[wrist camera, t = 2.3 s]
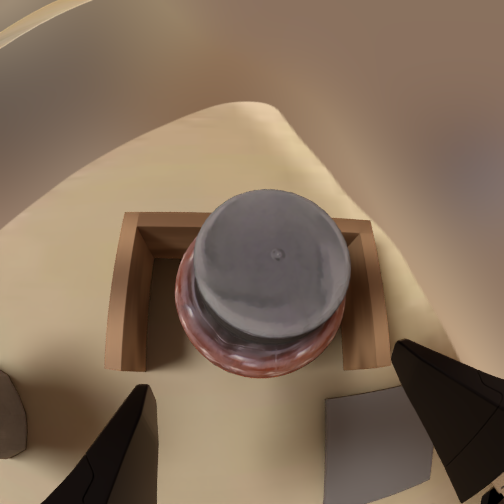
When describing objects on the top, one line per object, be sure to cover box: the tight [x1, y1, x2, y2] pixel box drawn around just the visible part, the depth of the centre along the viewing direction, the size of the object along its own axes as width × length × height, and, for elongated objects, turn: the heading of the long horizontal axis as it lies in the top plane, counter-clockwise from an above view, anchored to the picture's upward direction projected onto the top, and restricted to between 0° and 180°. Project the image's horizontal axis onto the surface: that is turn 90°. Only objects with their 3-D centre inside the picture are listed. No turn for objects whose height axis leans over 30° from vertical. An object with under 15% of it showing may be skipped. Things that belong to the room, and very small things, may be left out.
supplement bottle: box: [175, 189, 351, 378], centre depth 14 cm, size 7×7×13 cm
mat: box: [323, 386, 433, 504], centre depth 16 cm, size 10×10×1 cm
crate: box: [104, 212, 391, 372], centre depth 18 cm, size 10×16×5 cm, turn 91°
